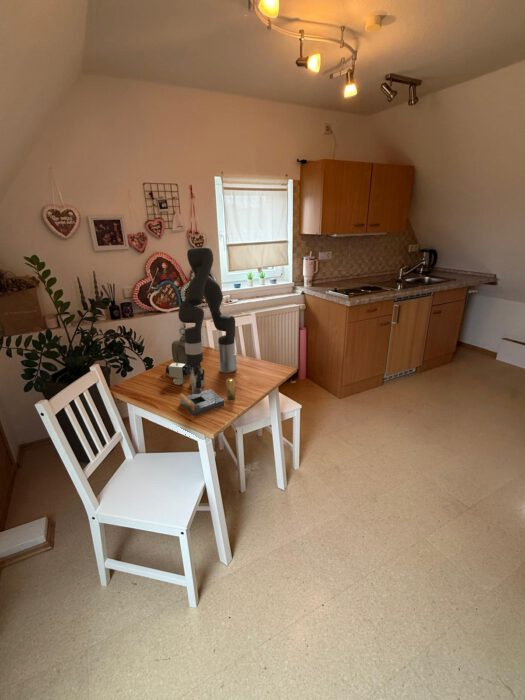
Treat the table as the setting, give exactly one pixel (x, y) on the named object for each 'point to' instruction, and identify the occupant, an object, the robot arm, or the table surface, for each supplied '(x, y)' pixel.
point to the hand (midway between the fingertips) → (196, 385)
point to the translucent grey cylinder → (194, 389)
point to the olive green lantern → (179, 350)
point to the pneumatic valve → (177, 372)
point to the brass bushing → (230, 389)
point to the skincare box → (201, 381)
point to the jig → (207, 402)
